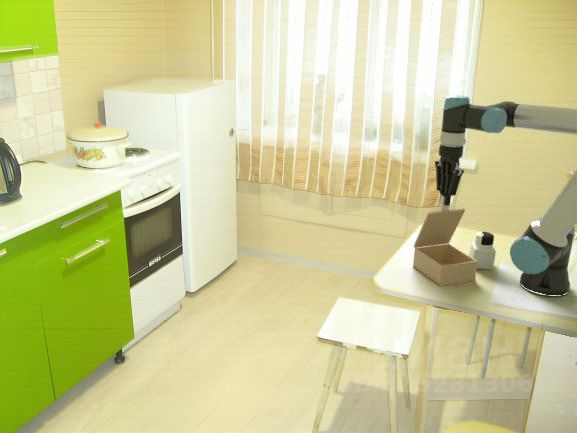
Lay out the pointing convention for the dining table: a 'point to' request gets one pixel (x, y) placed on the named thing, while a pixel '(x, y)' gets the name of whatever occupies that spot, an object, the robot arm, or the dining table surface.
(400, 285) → the dining table surface
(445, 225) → the lid
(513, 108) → the robot arm
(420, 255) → the box
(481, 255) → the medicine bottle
